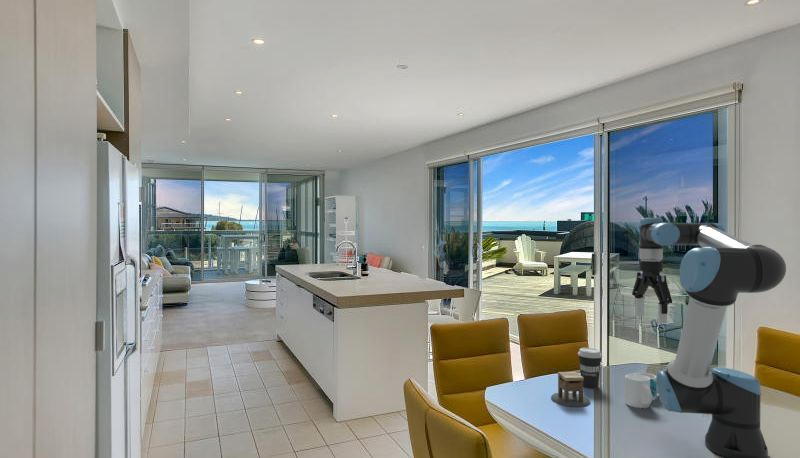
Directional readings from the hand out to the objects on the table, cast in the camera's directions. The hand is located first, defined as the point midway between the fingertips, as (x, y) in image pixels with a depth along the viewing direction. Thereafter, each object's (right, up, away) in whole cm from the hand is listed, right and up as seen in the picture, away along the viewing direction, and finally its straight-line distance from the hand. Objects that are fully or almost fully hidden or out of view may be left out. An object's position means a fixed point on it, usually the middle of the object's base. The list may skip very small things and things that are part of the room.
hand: (650, 319), depth 171 cm
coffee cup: (-12, -33, +25) cm, 43 cm away
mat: (-26, -33, +9) cm, 43 cm away
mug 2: (+7, -33, +14) cm, 36 cm away
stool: (-26, -32, +9) cm, 42 cm away
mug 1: (-2, -33, +3) cm, 33 cm away
